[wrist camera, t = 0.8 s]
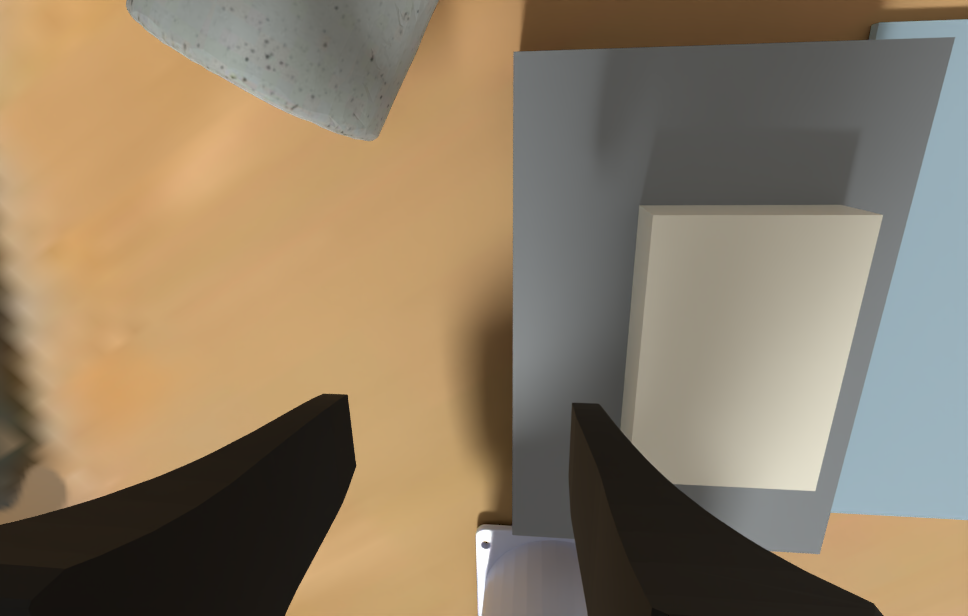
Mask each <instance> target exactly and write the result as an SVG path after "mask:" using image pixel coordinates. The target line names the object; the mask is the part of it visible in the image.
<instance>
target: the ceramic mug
mask: <svg viewBox="0 0 968 616" xmlns="http://www.w3.org/2000/svg"><path fill="white" fill-rule="evenodd" d="M438 1H439V0H127V2H126V7H127V10H128V12H129V13H130V15H131V16H132V17H133V19H134V20H135V21H137V22H138V23H139V24H141V25H142V26H143V27H144V28H145V29H146V30H147V31H148V32H149V33H151V34H152V35H153V36H155V37H156V38H157V39H159V40H160V41H161V42H162V43H164V44H166V45H168V46H170V47H171V48H173V49H174V50H176V51H177V52H179V53H181V54H182V55H184V56H185V57H187V58H188V59H190V60H191V61H193V62H195V63H197V64H200V65H202V66H203V67H204V68H206V69H207V70H209V71H211V72H213V73H215V74H217V75H218V76H220V77H222V78H224V79H226V80H227V81H229V82H231V83H233V84H234V85H236V86H238V87H240V88H241V89H243V90H245V91H247V92H248V93H250V94H252V95H254V96H256V97H258V98H259V99H261V100H263V101H265V102H267V103H269V104H270V105H272V106H274V107H276V108H278V109H281V110H283V111H285V112H287V113H289V114H291V115H294V116H296V117H298V118H301V119H304V120H307V121H310V122H312V123H314V124H316V125H318V126H320V127H322V128H324V129H327V130H329V131H332V132H334V133H337V134H340V135H344V136H348V137H351V138H354V139H359V140H365V141H373V140H374V139H376V138H377V137H378V136H379V134H380V132H381V129H382V127H383V125H384V123H385V120H386V118H387V116H388V113H389V111H390V109H391V106H392V104H393V102H394V100H395V97H396V95H397V93H398V91H399V89H400V87H401V84H402V82H403V80H404V78H405V76H406V74H407V72H408V69H409V67H410V65H411V63H412V61H413V59H414V57H415V54H416V52H417V50H418V47H419V45H420V42H421V40H422V37H423V35H424V33H425V30H426V28H427V25H428V23H429V21H430V18H431V16H432V14H433V12H434V10H435V8H436V5H437V3H438Z"/></svg>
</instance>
